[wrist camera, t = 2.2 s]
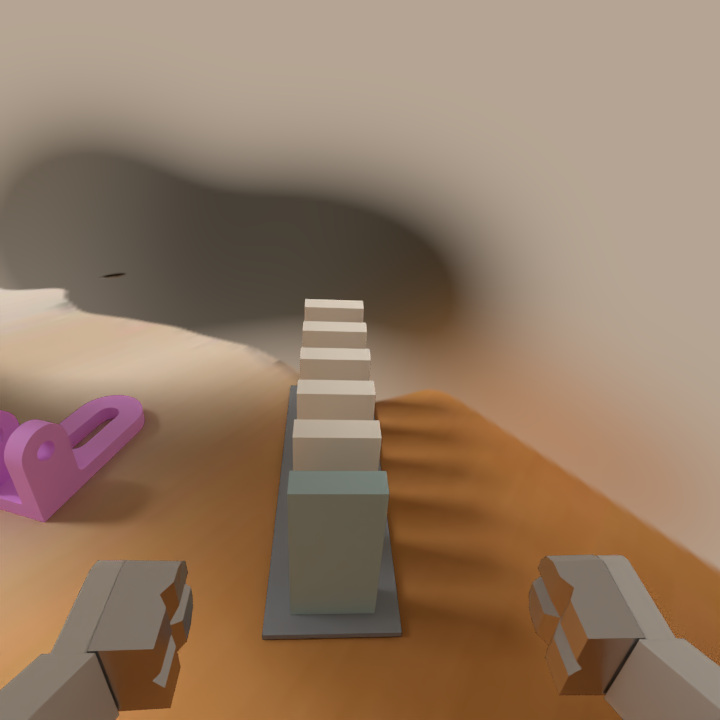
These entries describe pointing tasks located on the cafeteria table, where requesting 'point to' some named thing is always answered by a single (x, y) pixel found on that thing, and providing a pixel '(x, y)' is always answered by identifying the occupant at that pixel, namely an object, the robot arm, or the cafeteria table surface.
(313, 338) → the domino
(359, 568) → the domino
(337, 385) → the domino
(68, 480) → the bracket
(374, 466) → the domino
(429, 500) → the cafeteria table surface
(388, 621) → the mat
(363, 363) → the domino
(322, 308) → the domino
